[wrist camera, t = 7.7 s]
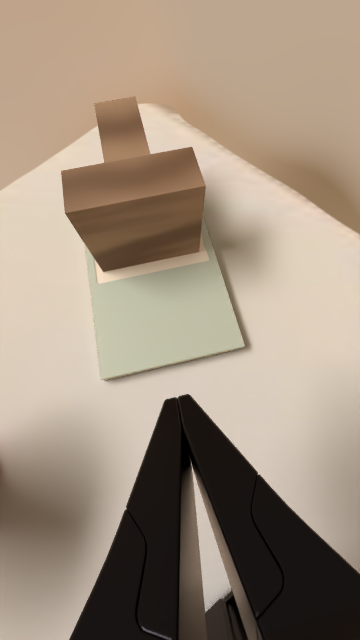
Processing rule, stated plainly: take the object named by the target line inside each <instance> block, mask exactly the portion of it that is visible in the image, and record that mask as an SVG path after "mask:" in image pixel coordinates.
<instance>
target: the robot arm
mask: <svg viewBox="0 0 360 640" xmlns="http://www.w3.org/2000/svg"><path fill="white" fill-rule="evenodd" d="M191 463H192V465H191ZM192 467H193V470H194V474H195V477H196V480H197V483H198V486H199V489H200V492H201V495H202V498H203V502H204V505H205V508H206V511H207V514H208V517H209V520H210V523H211V526H212V529H213V532H214V535H215V539H216V542H217V545H218V548H219V551H220V554H221V557H222V560H223V563H224V566H225V569H226V572H227V576H228V579H229V582H230V585H231V588H232V591H231V592H230V593H229V594H228V595H227V596H226V597H225V598H224V599H219V600H218V601H217V602H216V603H215V604H214V605H213V606H212V607H211V608H210V609H209V610H208V611H207V612H206V613H205V607H204V596H203V585H202V574H201V562H200V551H199V540H198V529H197V518H196V506H195V495H194V484H193V473H192ZM126 508H127V509H126V510H125V511H124V513H123V516H122V519H121V522H120V524H119V527H118V530H117V532H116V535H115V537H114V540H113V543H112V545H111V548H110V550H109V553H108V555H107V558H106V560H105V562H104V564H103V567H102V569H101V571H100V574H99V576H98V578H97V580H96V583H95V585H94V587H93V589H92V592H91V594H90V596H89V598H88V600H87V602H86V605H85V607H84V609H83V611H82V613H81V615H80V618H79V620H78V622H77V624H76V626H75V628H74V631H73V633H72V635H71V637H70V639H69V640H360V574H359V573H358V572H357V571H356V570H355V569H354V568H353V567H352V566H351V565H350V564H349V563H348V562H347V561H346V560H344V559H343V558H342V557H341V556H340V555H339V554H338V553H337V552H336V551H335V550H334V549H333V548H332V547H331V546H330V545H328V544H327V543H326V542H325V541H324V540H323V539H322V538H321V537H320V536H319V535H318V534H317V533H316V532H315V531H314V530H312V529H311V528H310V527H309V526H308V525H307V524H306V523H305V522H304V521H303V520H302V519H301V518H300V517H299V516H298V515H297V514H296V513H295V512H294V511H293V510H292V509H291V508H290V507H289V506H288V505H287V504H286V503H285V502H284V501H283V500H282V499H281V498H280V496H279V495H278V494H277V493H276V492H275V491H274V490H273V489H272V488H271V487H270V486H269V484H268V483H267V482H266V481H265V480H264V479H263V478H262V476H261V475H258V472H257V471H256V470H255V469H254V467H253V466H252V465H251V464H250V463H249V462H248V461H247V459H246V458H245V457H244V456H243V455H242V454H241V453H240V451H239V450H238V449H237V448H236V447H235V446H234V445H233V443H232V442H231V441H230V440H229V439H228V438H227V437H226V435H225V434H224V433H223V432H222V431H221V430H220V429H219V427H218V426H217V425H216V424H215V423H214V422H213V421H212V420H211V418H210V417H209V416H208V415H207V414H206V413H205V412H204V410H203V409H202V408H201V407H200V406H199V405H198V404H197V402H196V401H195V400H194V399H193V398H192V397H191V396H190V395H189V394H186V395H182V396H179V397H178V399H177V398H176V397H174V398H170V399H166V400H165V401H164V404H163V406H162V409H161V412H160V415H159V417H158V420H157V423H156V426H155V428H154V431H153V434H152V437H151V439H150V442H149V445H148V448H147V450H146V453H145V456H144V459H143V461H142V464H141V467H140V470H139V472H138V475H137V478H136V481H135V483H134V486H133V489H132V492H131V494H130V497H129V500H128V503H127V506H126Z"/></svg>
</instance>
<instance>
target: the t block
mask: <svg viewBox="0 0 360 640" xmlns="http://www.w3.org/2000/svg"><path fill="white" fill-rule="evenodd" d="M94 105H95V110H96V116H97V121H98V128H99V134H100V139H101V145H102V151H103V157H104V163H102V164H96V165H91V166H85V167H80V168H75V169H69V170H64V171H61V174H62V185H63V196H64V207H65V214H66V215H67V217H68V219H69V220H70V222H71V223H72V225H73V226H74V228H75V229H76V231H77V232H78V234H79V236H80V237H81V239H82V240H83V242H84V243H85V245H86V246H87V248H88V250H89V251H90V253H91V254H92V256H93V257H94V259H95V260H96V262H97V264H98V265H99V267H100V268H101V270H102V271H103V272H106V271H111V270H115V269H120V268H125V267H130V266H135V265H139V264H144V263H149V262H154V261H159V260H163V259H168V258H173V257H178V256H182V255H187V254H192V253H197V252H199V248H200V238H201V227H202V217H203V207H204V196H205V183H204V180H203V177H202V174H201V171H200V168H199V166H198V163H197V160H196V157H195V154H194V151H193V148H192V147H188V148H183V149H178V150H172V151H167V152H161V153H156V154H150V151H149V147H148V144H147V140H146V136H145V132H144V128H143V124H142V121H141V117H140V113H139V109H138V105H137V101H136V98H135V97H130V98H124V99H118V100H112V101H106V102H100V103H95V104H94Z"/></svg>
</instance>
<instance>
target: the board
mask: <svg viewBox="0 0 360 640" xmlns="http://www.w3.org/2000/svg"><path fill="white" fill-rule="evenodd" d="M85 251H86V260H87V268H88V276H89V285H90V293H91V302H92V310H93V319H94V327H95V336H96V344H97V353H98V361H99V370H100V378H101V380H109V379H113V378H117V377H122V376H126V375H130V374H135V373H139V372H143V371H147V370H152V369H156V368H160V367H165V366H169V365H173V364H177V363H182V362H186V361H190V360H195V359H199V358H203V357H207V356H212V355H216V354H220V353H225V352H229V351H233V350H237V349H242V348H243V347H244V346H245V345H244V341H243V338H242V335H241V332H240V329H239V326H238V323H237V320H236V317H235V314H234V311H233V307H232V304H231V301H230V298H229V295H228V292H227V289H226V286H225V283H224V280H223V276H222V273H221V270H220V267H219V264H218V261H217V258H216V255H215V252H214V249H213V245H212V242H211V239H210V236H209V233H208V230H207V227H206V224H205V221H204V218H203V217H202V227H201V238H200V248H199V252H197V253H192V254H187V255H182V256H178V257H173V258H168V259H163V260H159V261H154V262H149V263H144V264H139V265H135V266H130V267H125V268H120V269H115V270H111V271H106V272H103V271H102V270H101V268H100V267H99V265H98V264H97V262H96V260H95V259H94V257H93V256H92V254H91V253H90V251H89V250H88V248H87V246H86V245H85Z"/></svg>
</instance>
